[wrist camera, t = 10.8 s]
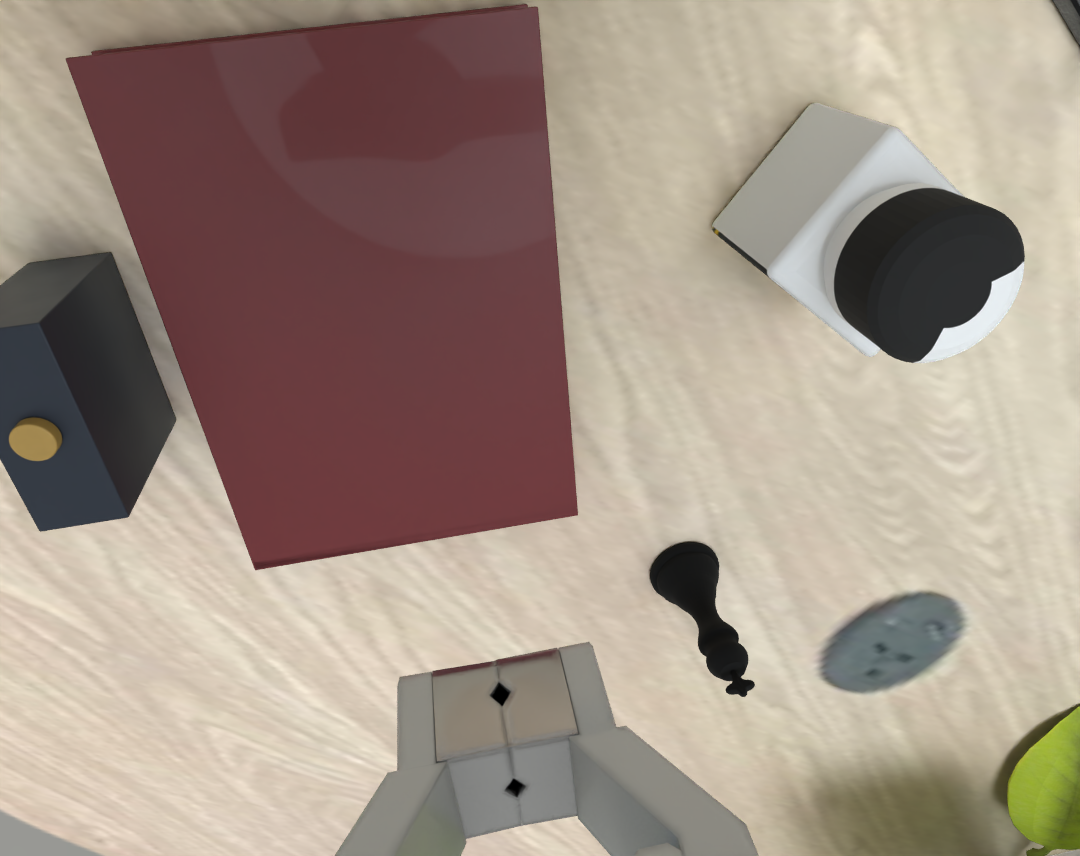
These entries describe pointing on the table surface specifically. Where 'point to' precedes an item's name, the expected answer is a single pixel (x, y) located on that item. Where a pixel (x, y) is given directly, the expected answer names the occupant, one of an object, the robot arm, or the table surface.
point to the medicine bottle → (875, 239)
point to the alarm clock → (77, 393)
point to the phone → (1070, 15)
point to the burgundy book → (353, 270)
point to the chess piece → (702, 608)
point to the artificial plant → (1049, 789)
